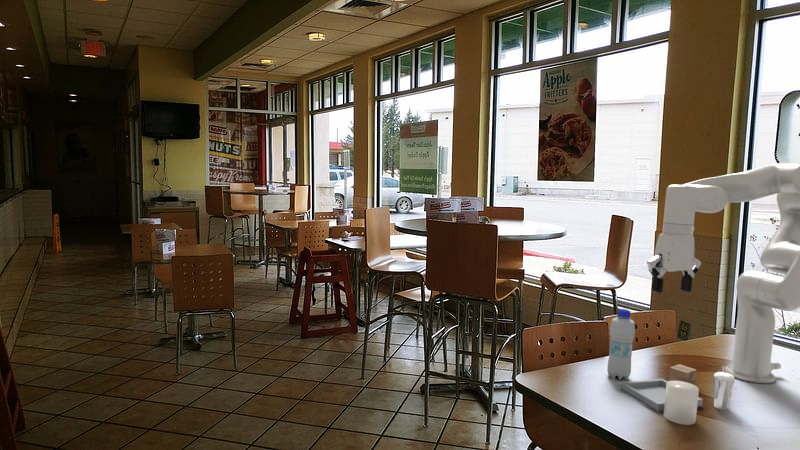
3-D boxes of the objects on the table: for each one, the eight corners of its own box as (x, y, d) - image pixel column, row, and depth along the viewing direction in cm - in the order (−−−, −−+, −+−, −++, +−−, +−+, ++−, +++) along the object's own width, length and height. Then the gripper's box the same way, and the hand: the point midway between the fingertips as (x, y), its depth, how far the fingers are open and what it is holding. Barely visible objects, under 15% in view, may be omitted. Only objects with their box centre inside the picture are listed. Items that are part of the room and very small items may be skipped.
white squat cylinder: (679, 410, 139) (682, 379, 139) (702, 423, 133) (705, 390, 132) (656, 413, 137) (659, 381, 137) (678, 426, 131) (682, 393, 130)
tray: (661, 385, 155) (662, 378, 155) (702, 406, 142) (702, 399, 142) (619, 389, 151) (620, 382, 151) (657, 411, 138) (657, 404, 138)
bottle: (633, 382, 157) (639, 313, 155) (608, 379, 158) (613, 310, 156) (628, 374, 163) (634, 307, 161) (604, 371, 165) (609, 305, 162)
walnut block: (677, 381, 160) (678, 364, 159) (695, 386, 156) (696, 369, 155) (668, 384, 157) (669, 367, 156) (686, 390, 153) (688, 373, 152)
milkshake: (729, 404, 144) (733, 367, 143) (732, 412, 139) (736, 374, 138) (709, 401, 146) (713, 364, 145) (711, 408, 141) (715, 370, 140)
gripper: (692, 228, 159) (686, 287, 161) (641, 227, 154) (636, 288, 156) (714, 232, 152) (707, 293, 154) (661, 231, 147) (655, 295, 149)
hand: (671, 291), depth 155 cm, fingers open, 9 cm apart
